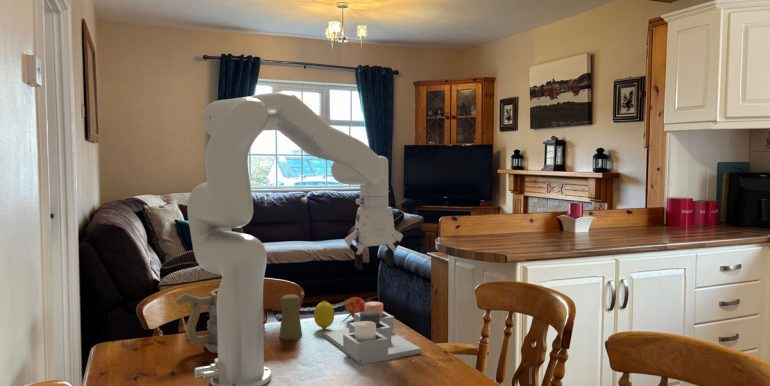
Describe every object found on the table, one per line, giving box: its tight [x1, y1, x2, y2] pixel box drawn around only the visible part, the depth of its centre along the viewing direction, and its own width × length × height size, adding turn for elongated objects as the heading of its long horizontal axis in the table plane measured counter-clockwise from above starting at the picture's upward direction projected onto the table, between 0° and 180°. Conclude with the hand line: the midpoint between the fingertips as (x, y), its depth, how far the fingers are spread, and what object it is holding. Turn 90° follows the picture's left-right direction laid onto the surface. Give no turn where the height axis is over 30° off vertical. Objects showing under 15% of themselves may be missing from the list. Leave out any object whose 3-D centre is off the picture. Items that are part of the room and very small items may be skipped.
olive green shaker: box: [278, 294, 303, 341], centre depth 150 cm, size 6×6×11 cm
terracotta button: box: [365, 301, 384, 318], centre depth 153 cm, size 5×5×4 cm
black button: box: [360, 311, 380, 328], centre depth 144 cm, size 5×5×4 cm
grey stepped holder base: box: [322, 310, 422, 366], centre depth 144 cm, size 18×23×5 cm
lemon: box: [313, 300, 335, 330], centre depth 156 cm, size 6×6×8 cm
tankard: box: [175, 287, 219, 354], centre depth 141 cm, size 20×13×15 cm, turn 122°
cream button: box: [355, 321, 376, 342], centre depth 135 cm, size 5×5×4 cm
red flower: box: [341, 296, 370, 323], centre depth 164 cm, size 7×7×10 cm
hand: (374, 266), depth 152 cm, fingers open, 8 cm apart
